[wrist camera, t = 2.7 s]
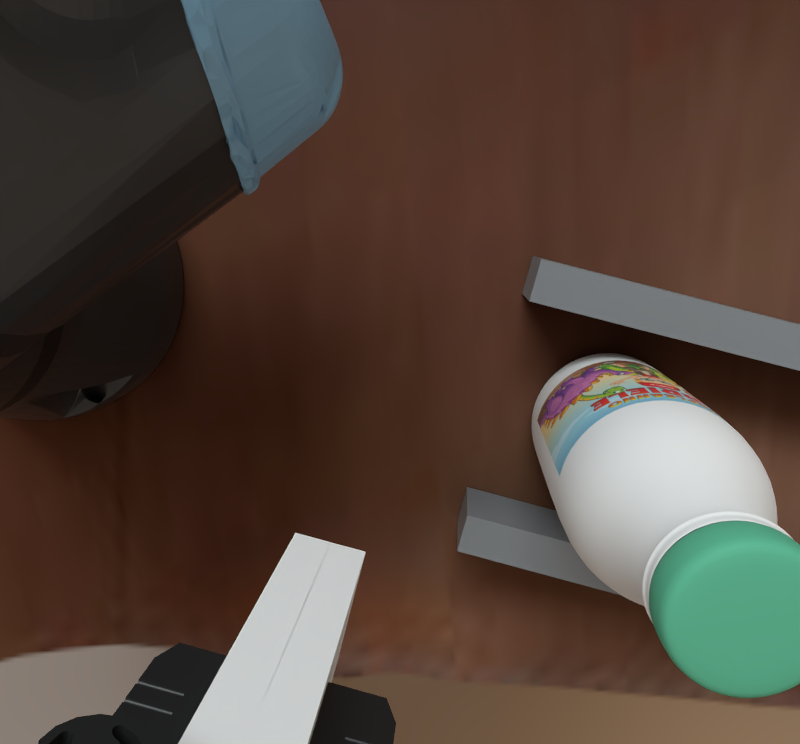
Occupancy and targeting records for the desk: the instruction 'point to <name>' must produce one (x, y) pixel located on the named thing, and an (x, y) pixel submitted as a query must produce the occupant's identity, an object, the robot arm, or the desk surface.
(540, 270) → the bottle rest
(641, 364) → the milk bottle
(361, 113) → the desk surface
